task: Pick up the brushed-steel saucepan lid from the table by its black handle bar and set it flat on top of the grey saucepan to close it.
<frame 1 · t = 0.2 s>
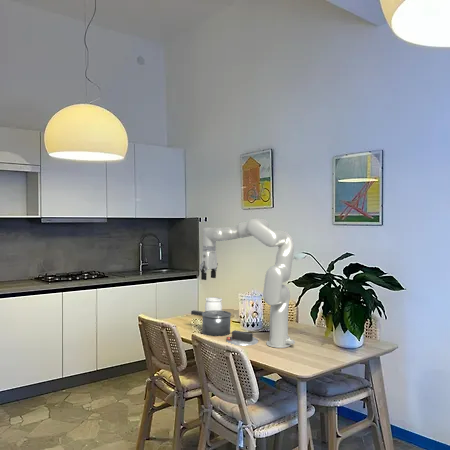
hand: (208, 278, 257), 31 cm above the table, tool pointing down, fingers open, 9 cm apart
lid: (242, 342, 240), on the table
grey saucepan: (216, 332, 257), on the table
jar: (213, 322, 282), on the table
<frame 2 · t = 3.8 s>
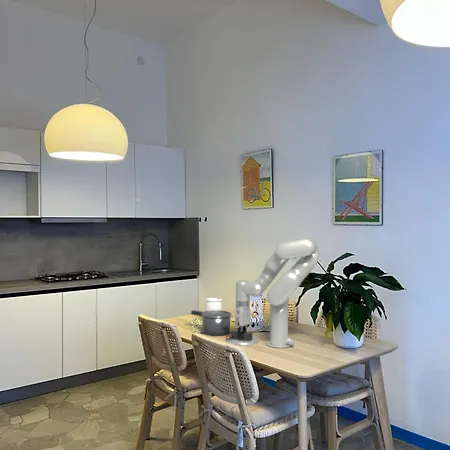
hand: (241, 337, 240), 2 cm above the table, tool pointing down, fingers closed on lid, 3 cm apart
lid: (241, 341, 240), on the table, touching gripper
everything else where it was.
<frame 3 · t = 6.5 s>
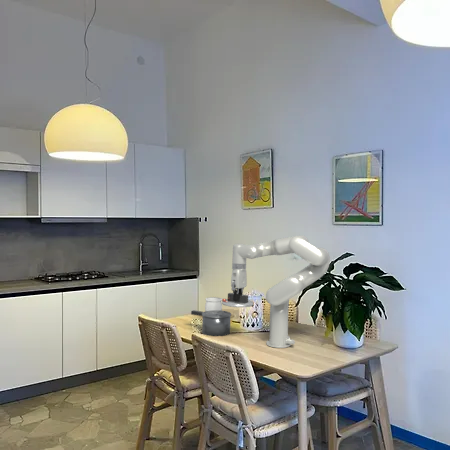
hand: (237, 300, 242), 22 cm above the table, tool pointing down, fingers closed on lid, 3 cm apart
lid: (237, 303, 242), point 19 cm above the table, touching gripper
everything else where it was.
when the fingers open (14 cm above the table, at t = 9.1 s): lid drops 1 cm, resting on grey saucepan.
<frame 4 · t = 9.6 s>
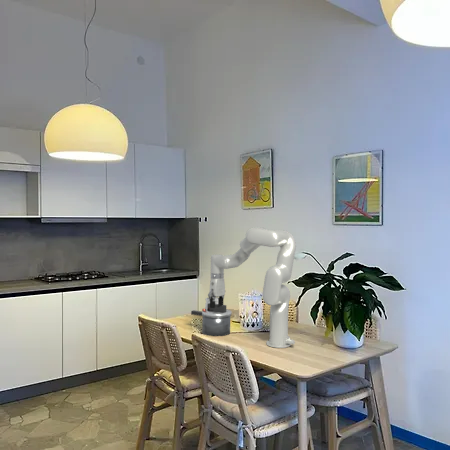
hand: (216, 306, 257), 15 cm above the table, tool pointing down, fingers open, 8 cm apart
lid: (216, 313, 257), point 11 cm above the table, touching grey saucepan
everything else where it was.
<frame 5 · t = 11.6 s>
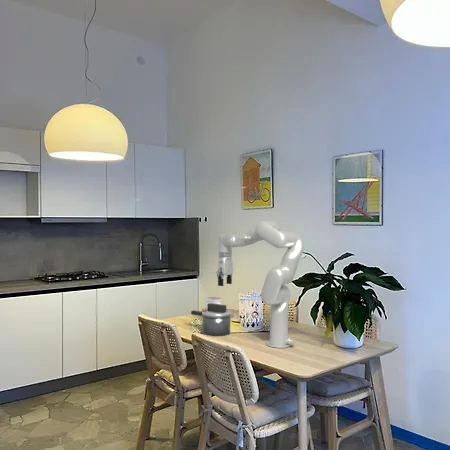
hand: (224, 284, 258), 27 cm above the table, tool pointing down, fingers open, 9 cm apart
nothing on the table moved.
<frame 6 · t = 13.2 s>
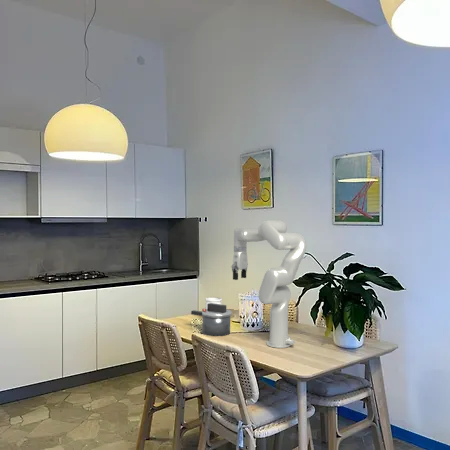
hand: (239, 278, 262), 30 cm above the table, tool pointing down, fingers open, 9 cm apart
nothing on the table moved.
at the end: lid 0.1 cm off-centre on the grey saucepan, point 11.0 cm above the grey saucepan's base; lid tilted 0°; the gripper is holding nothing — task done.
